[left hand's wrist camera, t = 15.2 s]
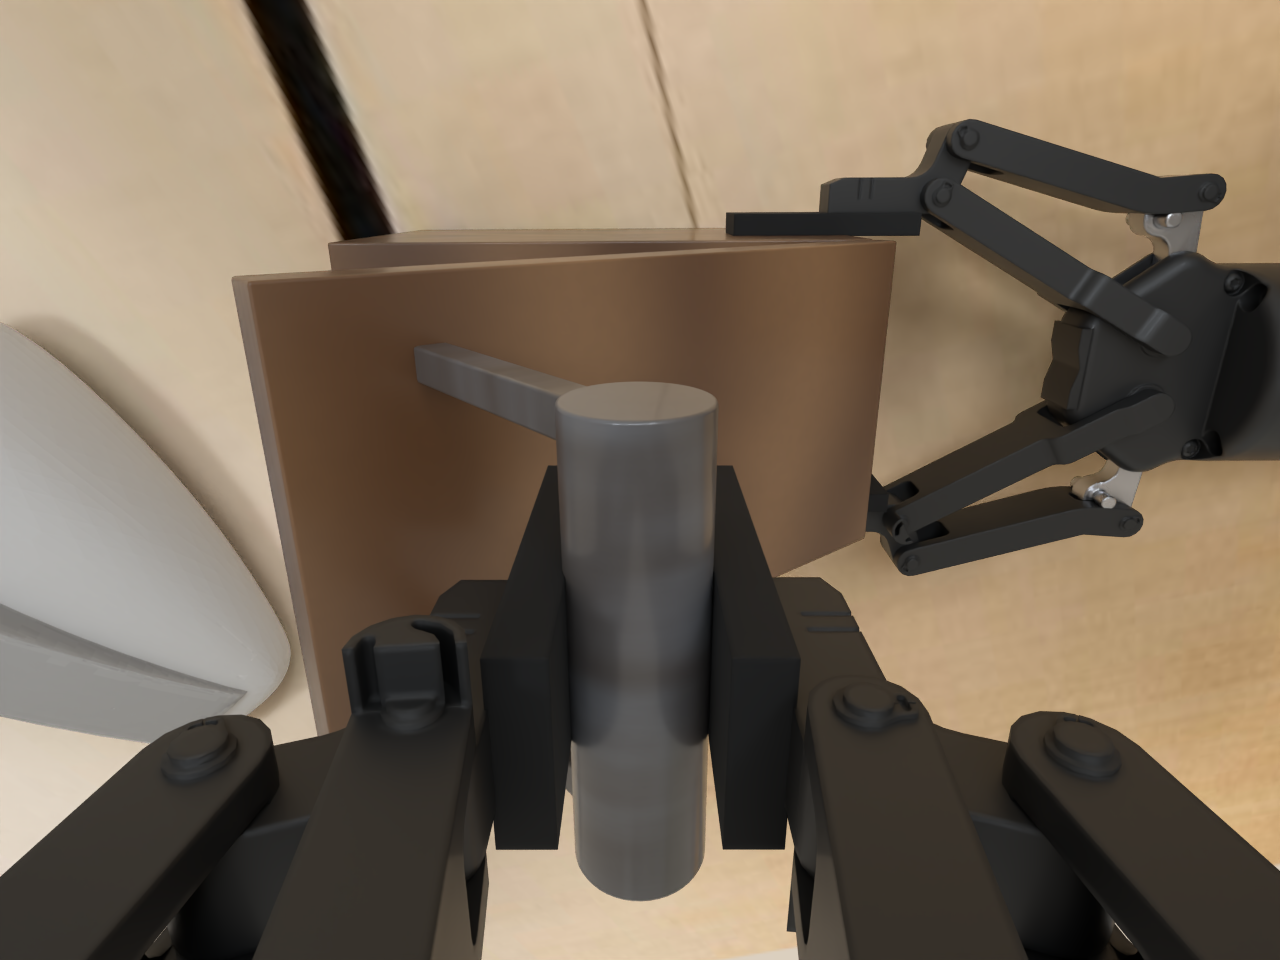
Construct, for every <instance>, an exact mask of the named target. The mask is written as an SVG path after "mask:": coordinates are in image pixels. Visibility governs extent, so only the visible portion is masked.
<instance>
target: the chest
mask: <svg viewBox="0 0 1280 960" xmlns="http://www.w3.org/2000/svg"><path fill="white" fill-rule="evenodd" d="M851 240H872V239H867V238H861V237H855V236H848V235H800V236H732V235H730V234H727V233H726V228H672V229H522V230H420V231H412V232H405V233H397V234H390V235H383V236H376V237H368V238H361V239H354V240H346V241H339V242H332V243H328V248H329V255H330V262H331V269H332V271H333V270H350V269H367V268H385V267H402V266H419V265H436V264H454V263H471V262H488V261H505V260H523V259H540V258H557V257H574V256H592V255H609V254H626V253H643V252H661V251H678V250H695V249H712V248H730V247H747V246H764V245H782V244H799V243H816V242H833V241H851Z"/></svg>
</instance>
